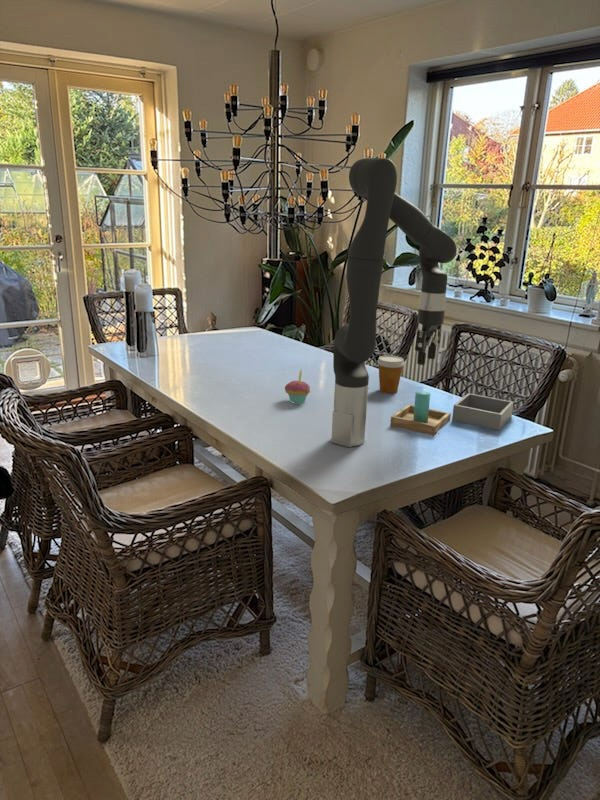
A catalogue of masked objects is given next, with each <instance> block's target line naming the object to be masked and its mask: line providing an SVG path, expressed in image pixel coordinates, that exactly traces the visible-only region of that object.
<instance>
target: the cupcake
mask: <svg viewBox="0 0 600 800" xmlns="http://www.w3.org/2000/svg"><path fill="white" fill-rule="evenodd" d="M298 373H299V376H298V380H292V381H290V382H288V383H287V384H285V386H284V390H285V391H284V392H285V393H286V394H288V397H289V400H290V402H291V401H292V402H294V403H302V404H304V403H305V401H306V399H307V397H308V394H310V393H311V386H310V385H309V383H307V382H306V381H301V379H302V373H303V371H302V370H300V371H299V372H298ZM292 402H291V403H292ZM303 402H304V403H303ZM294 403H293V404H294Z"/></svg>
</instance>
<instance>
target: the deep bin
mask: <svg viewBox="0 0 600 800" xmlns="http://www.w3.org/2000/svg"><path fill="white" fill-rule="evenodd" d="M514 403H515V402H514V401H511V400H507V399H506V400H505V399H500V398H496V397H491V396H490V397H489V396H487V395H481V394H480V395H479V394H476V393H475V394H474V393H470V392H468V393H467V394H465V395H463V397H461V398H460V399H459V400H458V401H457V402H455V403H454V404H453V409H452V417H451V421H454V422H457V423H458V422H459V423H463V424H467V425H473V426H478V427H481V428H486V429H490V430H495V431H500V430H502V428H503V427H504V426H505V425H506V423H508V422H509V420H510V419H511V418H512V417H513V416H512V415H513V408H514Z"/></svg>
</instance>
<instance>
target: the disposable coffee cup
mask: <svg viewBox="0 0 600 800" xmlns="http://www.w3.org/2000/svg"><path fill="white" fill-rule="evenodd" d="M376 361H377V364H378V379H379V381H378V382H379V391H380V392H382V393H384V394H396V393H398V389H399V385H400V380H401V376H402V371H403V368H404V365H405V361H404V358H402V357H400V356H396V355H381V356H379V357H378V360H376Z"/></svg>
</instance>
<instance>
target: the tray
mask: <svg viewBox="0 0 600 800" xmlns="http://www.w3.org/2000/svg"><path fill="white" fill-rule="evenodd" d="M414 406H415V404H414V405H413V404H407V405H406V406H404V407H403V408H401V409H400V410H398V411H397V412H395V413H394V414H393V415H391V416H390V423H389V426H391V427H394V428H398V429H402V430H408V431H410V432H416V433H419V434H420V433H421V434H424V435H429V436H432V437H435V436H436V435H437V434H438V431H439V430H440V429H442V427H443V426H445V425H446V424H447V423H448V422H449V421H450V420H451V415H452V413H451V412H446V411H441V410H437V409H432V408H429V414H428V422H427V423H423V422H418V421H414V420H413V418H414ZM434 435H435V436H434Z"/></svg>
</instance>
